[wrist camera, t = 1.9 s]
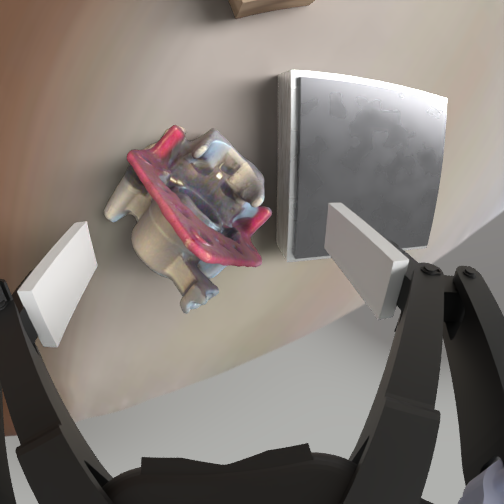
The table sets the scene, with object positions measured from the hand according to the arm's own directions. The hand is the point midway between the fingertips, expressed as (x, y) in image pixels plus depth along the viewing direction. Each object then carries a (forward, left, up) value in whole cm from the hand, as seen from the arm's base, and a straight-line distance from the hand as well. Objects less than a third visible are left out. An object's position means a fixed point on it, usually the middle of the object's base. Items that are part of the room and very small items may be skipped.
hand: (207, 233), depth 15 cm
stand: (+13, +2, -9) cm, 15 cm away
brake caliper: (-1, 0, -9) cm, 9 cm away
